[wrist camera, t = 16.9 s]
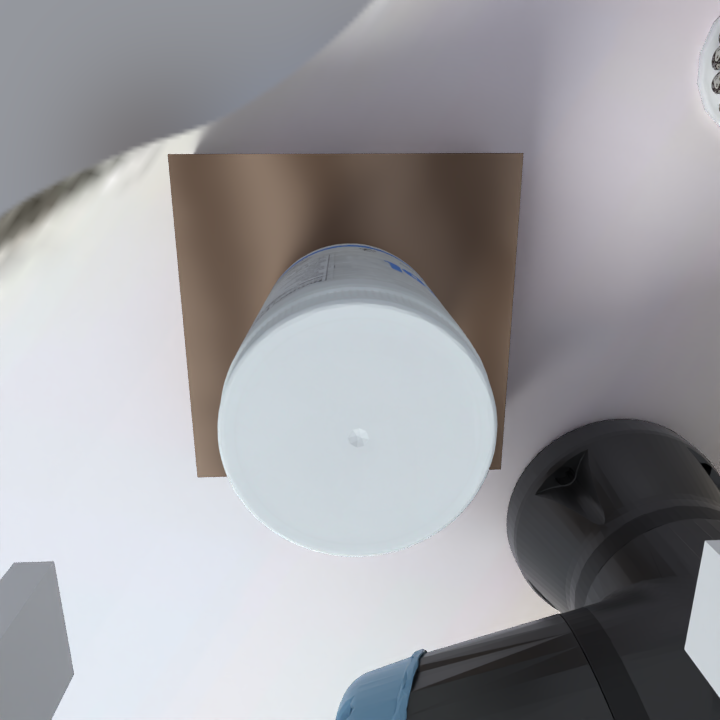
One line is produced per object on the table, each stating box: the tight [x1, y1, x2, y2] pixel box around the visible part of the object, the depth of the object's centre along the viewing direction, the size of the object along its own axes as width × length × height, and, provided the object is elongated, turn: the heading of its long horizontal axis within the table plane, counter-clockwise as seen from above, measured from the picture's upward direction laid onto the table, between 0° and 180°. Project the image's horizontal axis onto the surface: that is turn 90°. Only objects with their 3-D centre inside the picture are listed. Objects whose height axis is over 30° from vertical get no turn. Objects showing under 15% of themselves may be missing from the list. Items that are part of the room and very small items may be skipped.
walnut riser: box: [168, 153, 523, 477], centre depth 37 cm, size 18×18×6 cm
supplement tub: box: [218, 244, 497, 557], centre depth 27 cm, size 10×10×15 cm
